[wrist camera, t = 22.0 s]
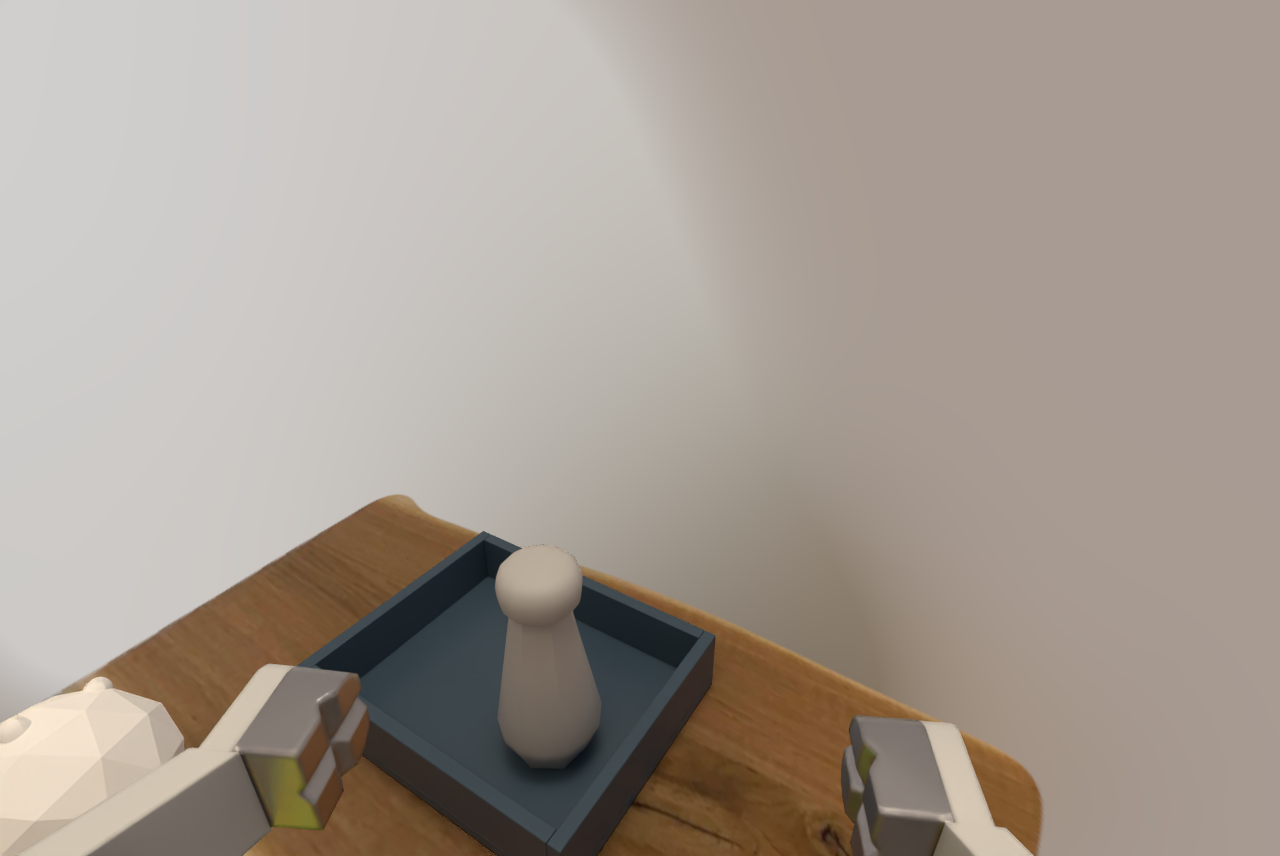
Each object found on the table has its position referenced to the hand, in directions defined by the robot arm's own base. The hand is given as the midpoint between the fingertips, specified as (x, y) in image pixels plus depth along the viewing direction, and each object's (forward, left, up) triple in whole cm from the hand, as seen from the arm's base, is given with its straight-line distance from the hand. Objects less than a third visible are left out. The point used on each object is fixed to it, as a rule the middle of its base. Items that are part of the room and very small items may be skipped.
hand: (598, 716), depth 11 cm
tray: (+9, -21, -26) cm, 35 cm away
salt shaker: (+6, -18, -25) cm, 32 cm away
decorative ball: (+29, -10, -26) cm, 40 cm away
